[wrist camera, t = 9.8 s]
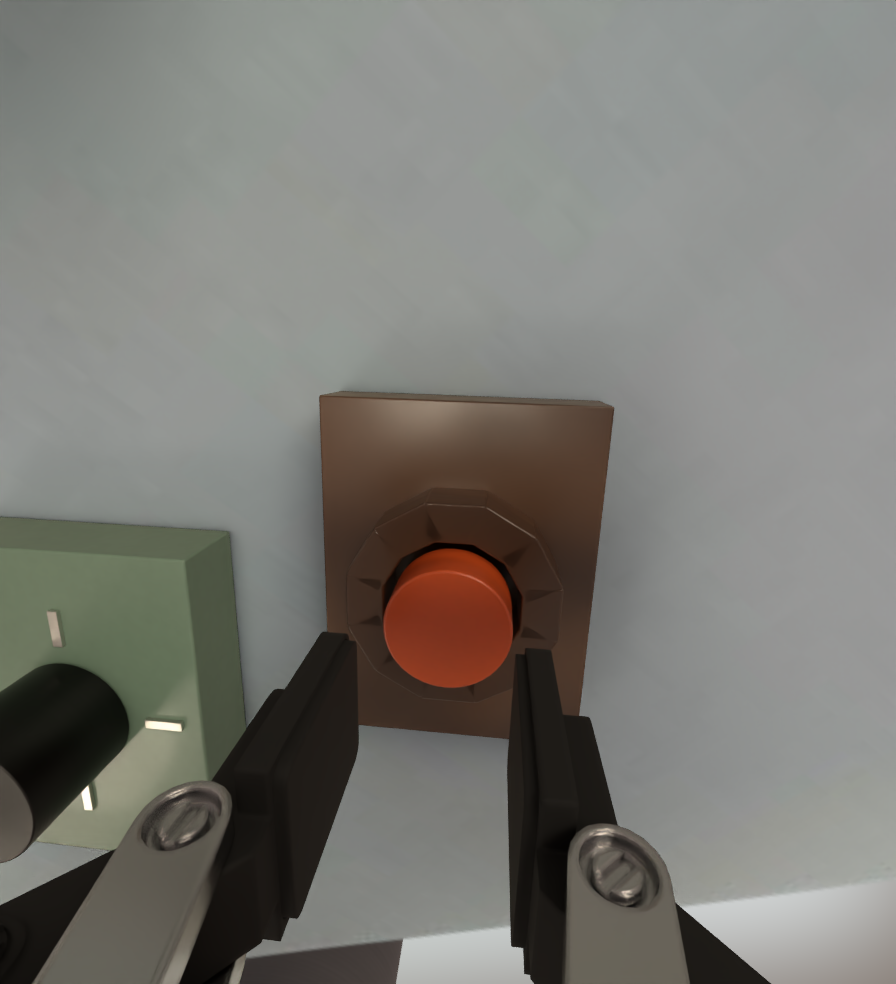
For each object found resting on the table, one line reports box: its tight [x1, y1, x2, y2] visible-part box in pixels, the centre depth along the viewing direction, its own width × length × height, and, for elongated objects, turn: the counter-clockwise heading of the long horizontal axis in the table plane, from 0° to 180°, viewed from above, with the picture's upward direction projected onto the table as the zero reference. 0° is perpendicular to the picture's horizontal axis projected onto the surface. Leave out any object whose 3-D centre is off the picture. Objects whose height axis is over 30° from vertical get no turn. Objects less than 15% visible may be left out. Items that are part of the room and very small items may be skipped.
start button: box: [383, 549, 513, 688], centre depth 15 cm, size 4×4×2 cm
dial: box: [0, 663, 129, 863], centre depth 17 cm, size 4×4×4 cm
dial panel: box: [0, 517, 246, 851], centre depth 20 cm, size 13×10×3 cm
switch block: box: [319, 391, 614, 739], centre depth 17 cm, size 12×9×4 cm
